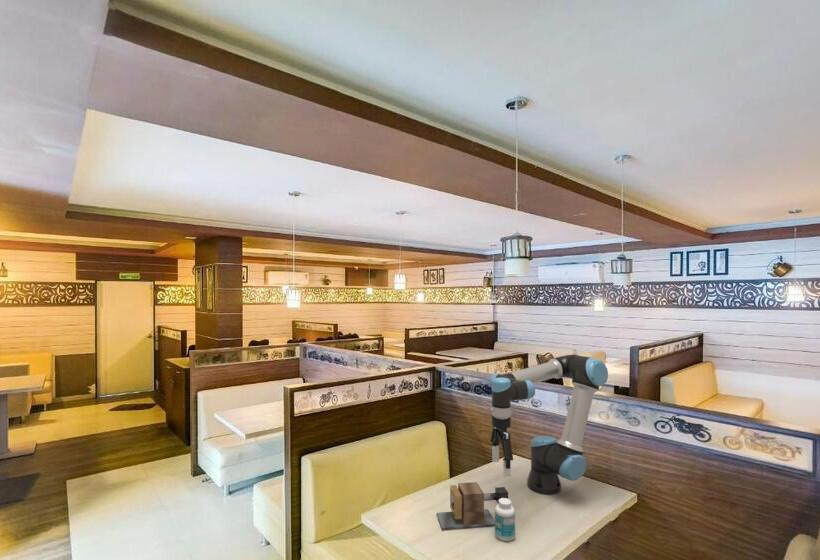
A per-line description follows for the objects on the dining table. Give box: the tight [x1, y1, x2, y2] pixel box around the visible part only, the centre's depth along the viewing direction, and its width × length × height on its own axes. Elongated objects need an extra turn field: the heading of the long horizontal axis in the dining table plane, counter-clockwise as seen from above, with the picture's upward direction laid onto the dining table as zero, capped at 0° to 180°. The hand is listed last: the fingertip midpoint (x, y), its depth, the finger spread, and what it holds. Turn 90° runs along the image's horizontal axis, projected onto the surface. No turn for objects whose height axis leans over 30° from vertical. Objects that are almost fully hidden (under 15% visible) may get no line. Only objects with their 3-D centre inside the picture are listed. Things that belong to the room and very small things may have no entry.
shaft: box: [451, 486, 509, 505], centre depth 170 cm, size 23×4×5 cm, turn 97°
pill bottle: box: [494, 498, 516, 542], centre depth 159 cm, size 8×7×14 cm
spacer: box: [449, 484, 462, 519], centre depth 169 cm, size 2×9×9 cm, turn 7°
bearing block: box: [436, 481, 495, 531], centre depth 169 cm, size 22×11×13 cm, turn 97°
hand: (501, 468), depth 172 cm, fingers open, 13 cm apart
